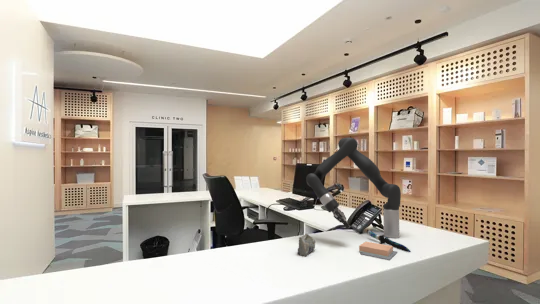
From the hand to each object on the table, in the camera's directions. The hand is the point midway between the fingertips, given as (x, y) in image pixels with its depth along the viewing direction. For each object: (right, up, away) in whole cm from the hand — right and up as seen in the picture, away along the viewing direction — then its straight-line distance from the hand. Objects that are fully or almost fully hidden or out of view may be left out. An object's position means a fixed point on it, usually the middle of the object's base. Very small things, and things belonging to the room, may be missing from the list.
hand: (348, 227), depth 151 cm
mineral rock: (-24, -10, -11) cm, 29 cm away
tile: (+6, -8, -6) cm, 12 cm away
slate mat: (+12, -10, -11) cm, 20 cm away
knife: (+23, -11, +3) cm, 25 cm away
